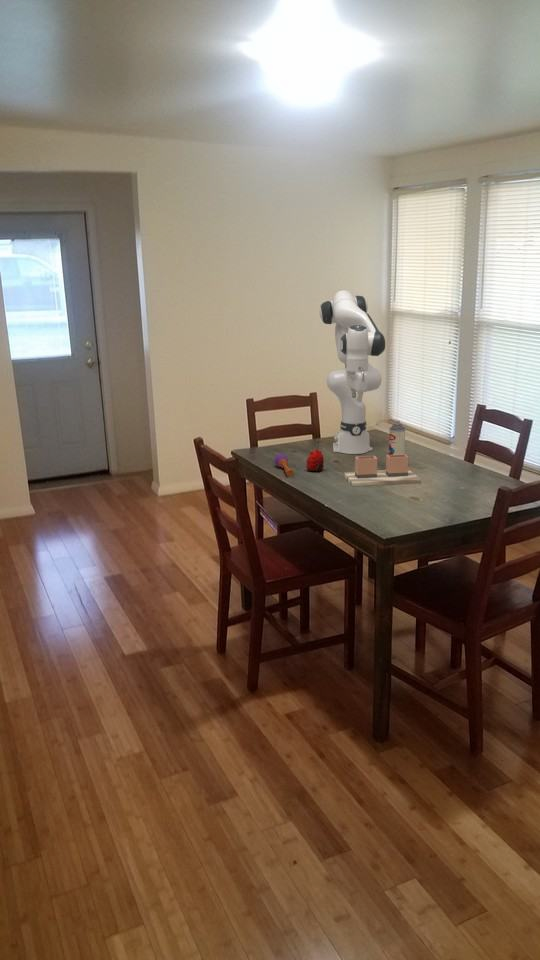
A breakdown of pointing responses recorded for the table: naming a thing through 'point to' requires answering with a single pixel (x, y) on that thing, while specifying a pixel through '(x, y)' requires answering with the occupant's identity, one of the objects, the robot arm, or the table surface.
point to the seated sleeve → (397, 465)
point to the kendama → (283, 464)
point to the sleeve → (366, 467)
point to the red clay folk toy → (315, 460)
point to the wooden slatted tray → (381, 479)
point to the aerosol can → (396, 439)
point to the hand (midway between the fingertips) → (356, 399)
